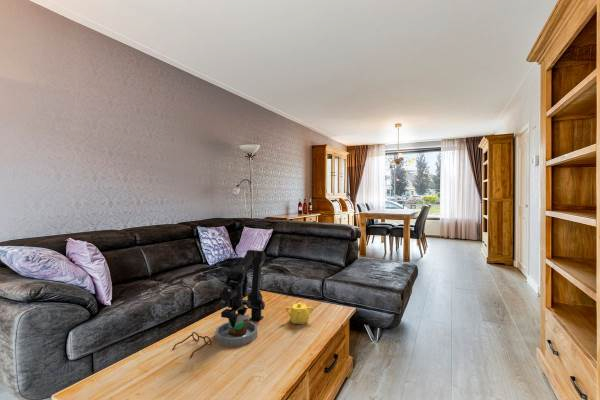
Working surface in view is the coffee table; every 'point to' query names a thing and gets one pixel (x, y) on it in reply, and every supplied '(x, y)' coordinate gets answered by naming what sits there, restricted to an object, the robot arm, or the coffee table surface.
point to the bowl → (231, 340)
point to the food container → (239, 325)
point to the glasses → (196, 340)
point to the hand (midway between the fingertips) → (236, 325)
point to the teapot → (299, 313)
